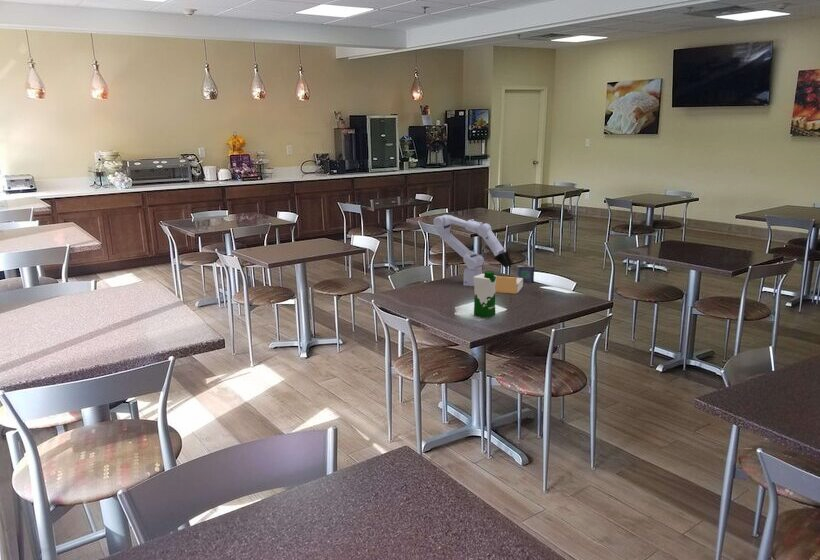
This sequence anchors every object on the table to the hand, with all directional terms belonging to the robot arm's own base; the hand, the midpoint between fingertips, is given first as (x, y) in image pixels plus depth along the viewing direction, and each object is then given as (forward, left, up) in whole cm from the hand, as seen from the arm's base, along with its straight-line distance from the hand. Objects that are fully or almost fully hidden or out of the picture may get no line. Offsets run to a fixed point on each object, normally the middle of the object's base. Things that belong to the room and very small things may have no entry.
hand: (508, 266), depth 306 cm
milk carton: (-1, -45, -13) cm, 46 cm away
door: (-4, -8, -12) cm, 15 cm away
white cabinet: (-4, 0, -13) cm, 13 cm away
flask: (+5, +18, -13) cm, 23 cm away
